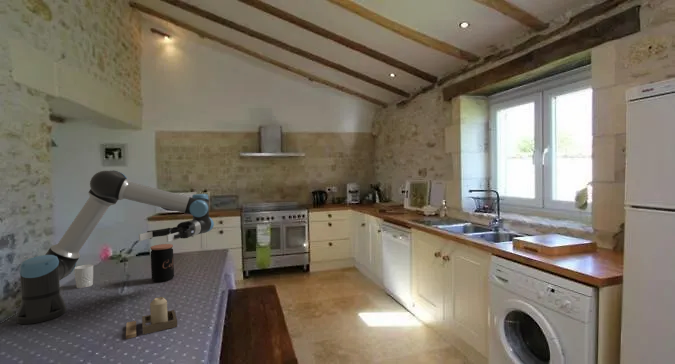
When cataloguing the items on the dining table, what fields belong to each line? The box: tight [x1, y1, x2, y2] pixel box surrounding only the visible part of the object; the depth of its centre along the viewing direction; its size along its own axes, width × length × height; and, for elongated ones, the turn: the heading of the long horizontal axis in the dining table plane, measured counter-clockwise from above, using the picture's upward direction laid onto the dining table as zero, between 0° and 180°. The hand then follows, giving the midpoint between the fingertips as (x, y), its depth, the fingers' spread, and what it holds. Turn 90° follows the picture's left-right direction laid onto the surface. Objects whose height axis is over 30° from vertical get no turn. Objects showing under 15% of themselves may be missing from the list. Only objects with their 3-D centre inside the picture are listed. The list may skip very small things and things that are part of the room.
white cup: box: [73, 264, 94, 289], centre depth 175 cm, size 8×8×10 cm
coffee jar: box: [150, 243, 175, 283], centre depth 182 cm, size 11×11×18 cm
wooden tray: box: [141, 309, 178, 335], centre depth 127 cm, size 11×11×2 cm
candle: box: [149, 296, 169, 325], centre depth 127 cm, size 6×6×10 cm
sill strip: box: [125, 320, 137, 340], centre depth 123 cm, size 3×12×1 cm, turn 31°
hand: (153, 238), depth 140 cm, fingers open, 13 cm apart
